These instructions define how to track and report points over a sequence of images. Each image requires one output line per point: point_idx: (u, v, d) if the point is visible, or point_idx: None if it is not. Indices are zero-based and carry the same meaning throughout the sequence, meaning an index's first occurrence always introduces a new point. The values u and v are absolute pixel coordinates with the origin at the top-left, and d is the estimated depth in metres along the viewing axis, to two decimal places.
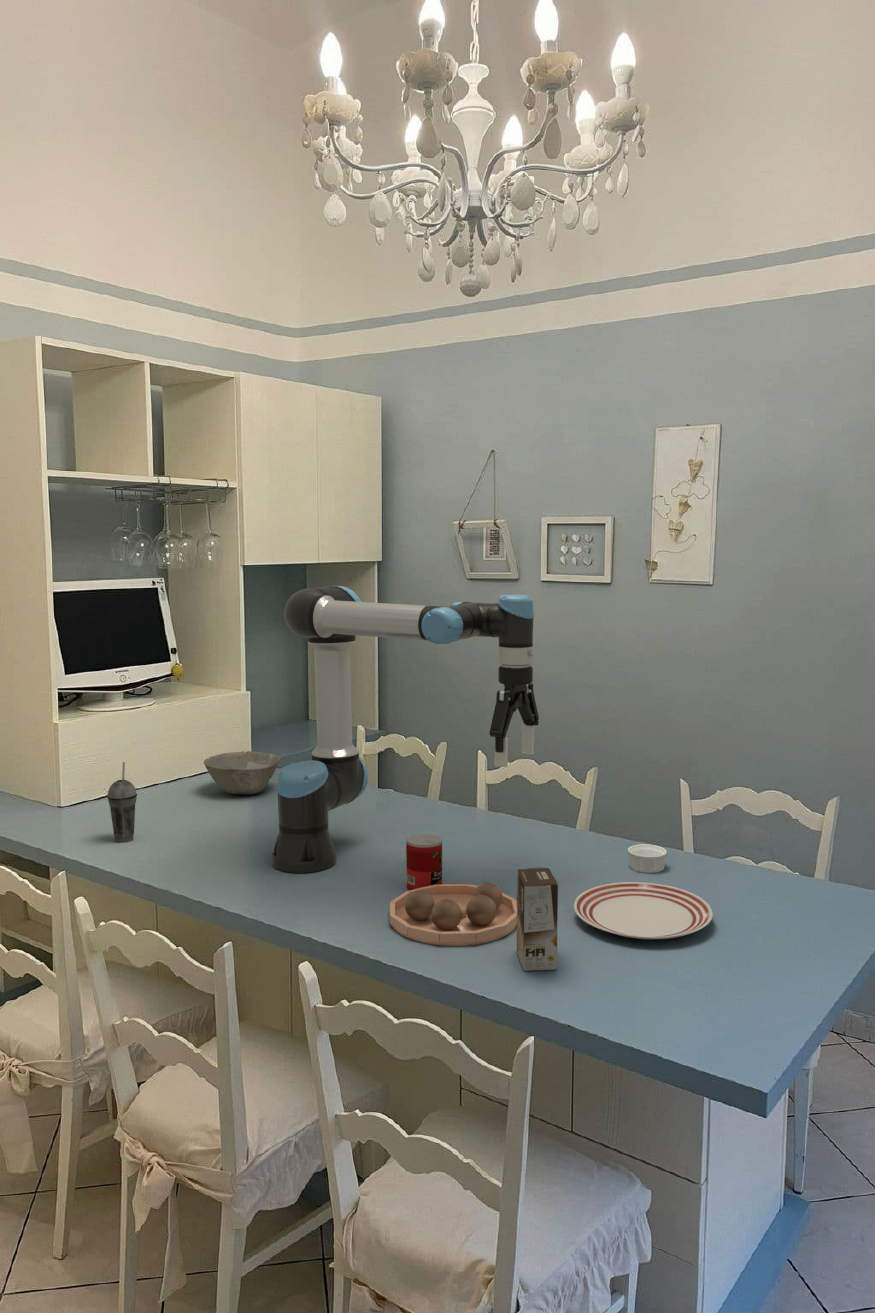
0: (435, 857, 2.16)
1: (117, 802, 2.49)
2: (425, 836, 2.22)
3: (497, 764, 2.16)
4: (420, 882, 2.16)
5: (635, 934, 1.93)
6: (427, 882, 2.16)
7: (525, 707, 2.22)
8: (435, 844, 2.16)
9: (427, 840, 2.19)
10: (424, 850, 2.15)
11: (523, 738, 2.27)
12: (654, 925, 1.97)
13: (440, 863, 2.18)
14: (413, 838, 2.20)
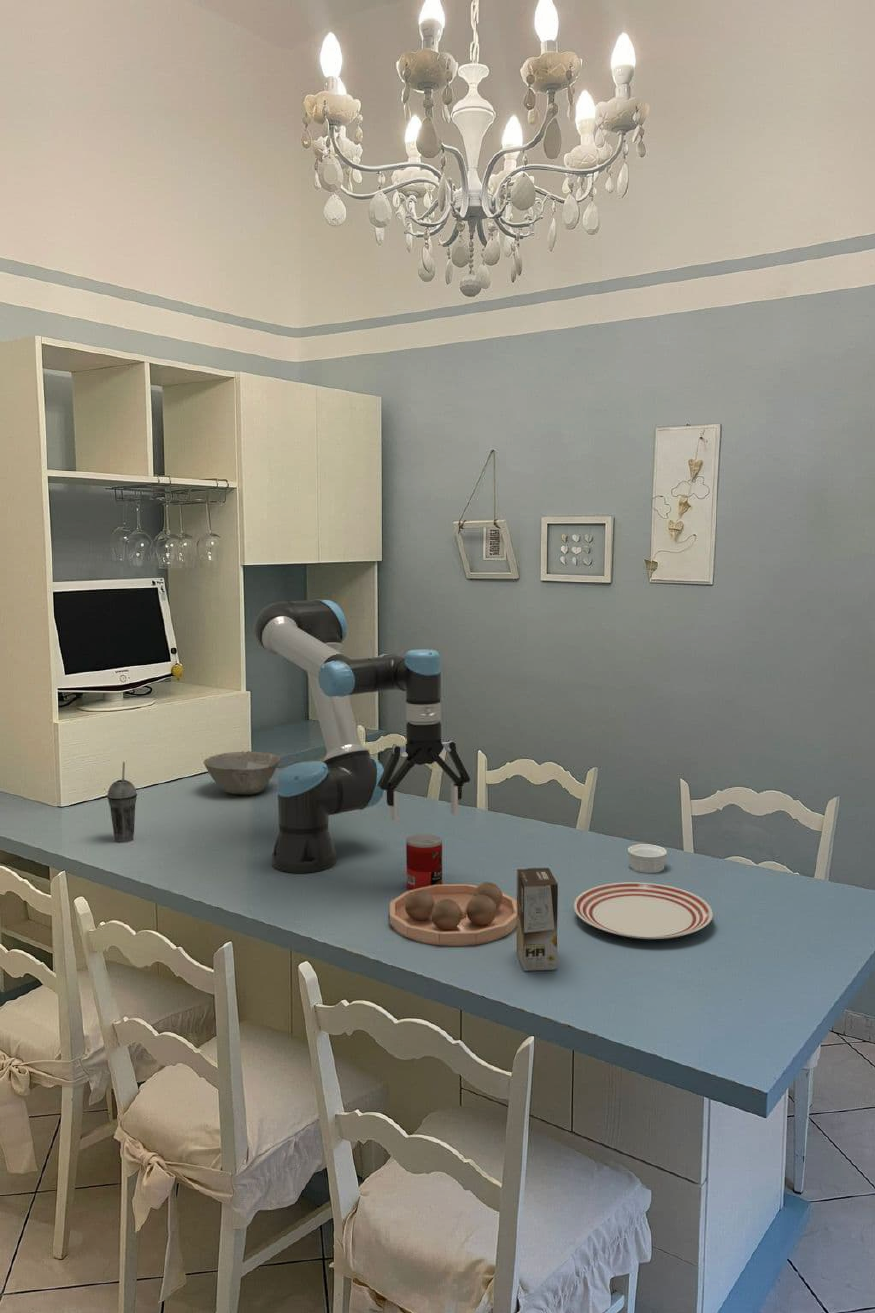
0: (435, 857, 2.16)
1: (117, 802, 2.49)
2: (425, 836, 2.22)
3: (392, 817, 2.16)
4: (420, 882, 2.16)
5: (635, 934, 1.93)
6: (427, 882, 2.16)
7: (440, 765, 2.17)
8: (435, 844, 2.16)
9: (427, 840, 2.19)
10: (424, 850, 2.15)
11: (451, 797, 2.20)
12: (654, 925, 1.97)
13: (440, 863, 2.18)
14: (413, 838, 2.20)
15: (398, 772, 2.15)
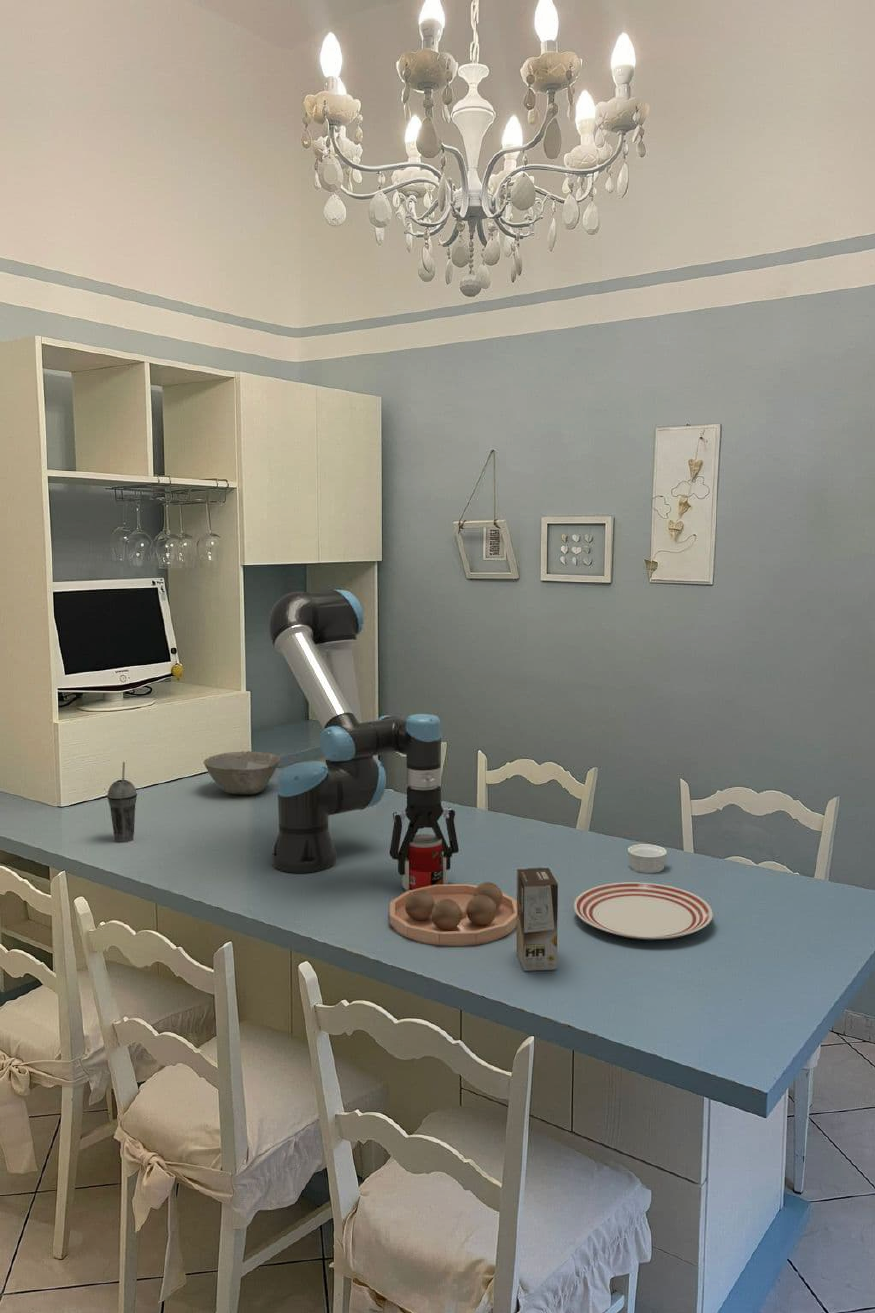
0: (435, 857, 2.16)
1: (117, 802, 2.49)
2: (425, 836, 2.22)
3: (403, 885, 2.19)
4: (420, 882, 2.16)
5: (635, 934, 1.93)
6: (427, 882, 2.16)
7: (435, 831, 2.18)
8: (435, 844, 2.16)
9: (427, 840, 2.19)
10: (424, 850, 2.15)
11: None
12: (654, 925, 1.97)
13: (440, 863, 2.18)
14: None
15: (405, 840, 2.18)
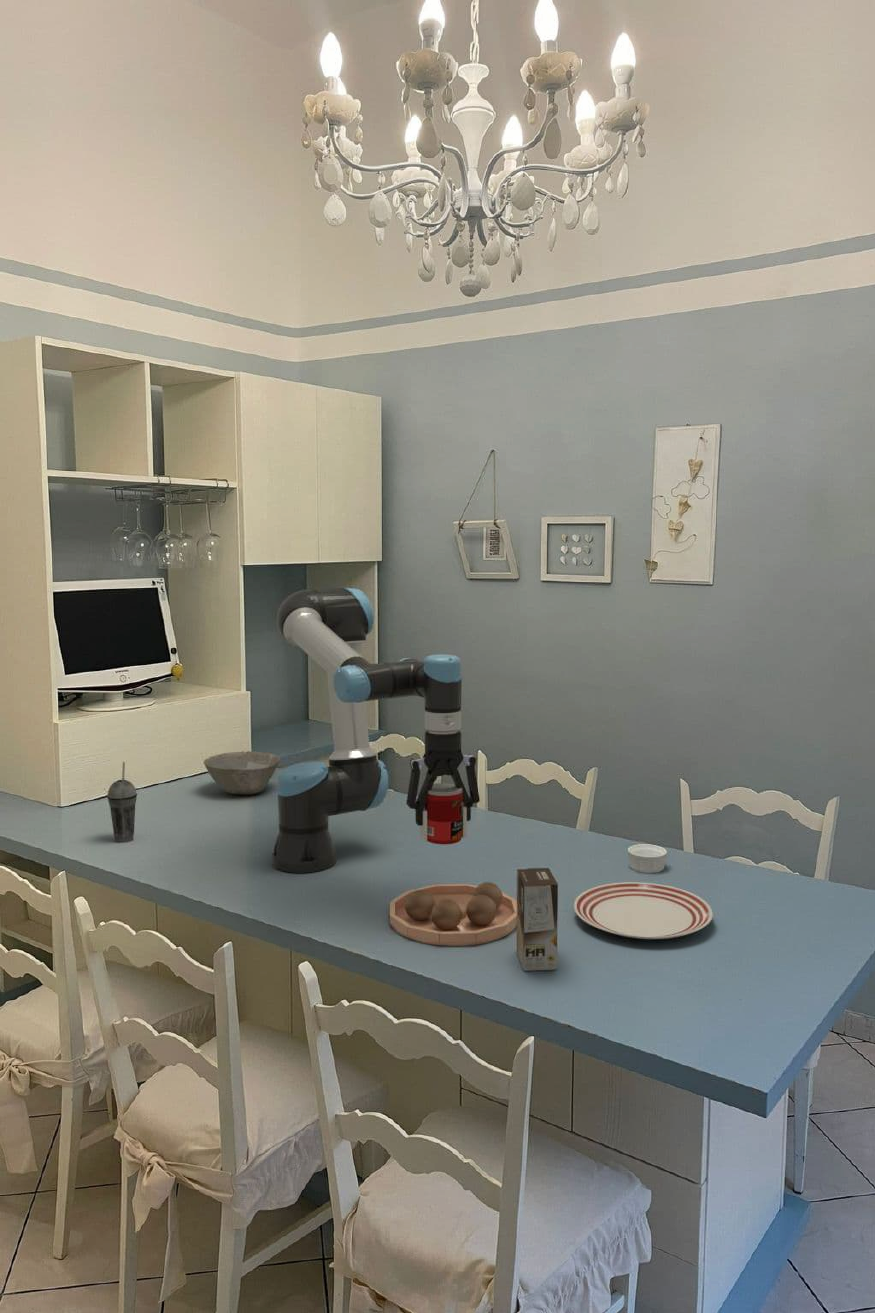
0: (455, 806, 2.03)
1: (117, 802, 2.49)
2: (444, 785, 2.09)
3: (421, 837, 2.06)
4: (439, 833, 2.03)
5: (635, 934, 1.93)
6: (447, 833, 2.03)
7: (455, 779, 2.05)
8: (455, 792, 2.03)
9: (446, 789, 2.06)
10: (444, 799, 2.02)
11: None
12: (654, 925, 1.97)
13: (460, 813, 2.05)
14: None
15: (423, 788, 2.05)
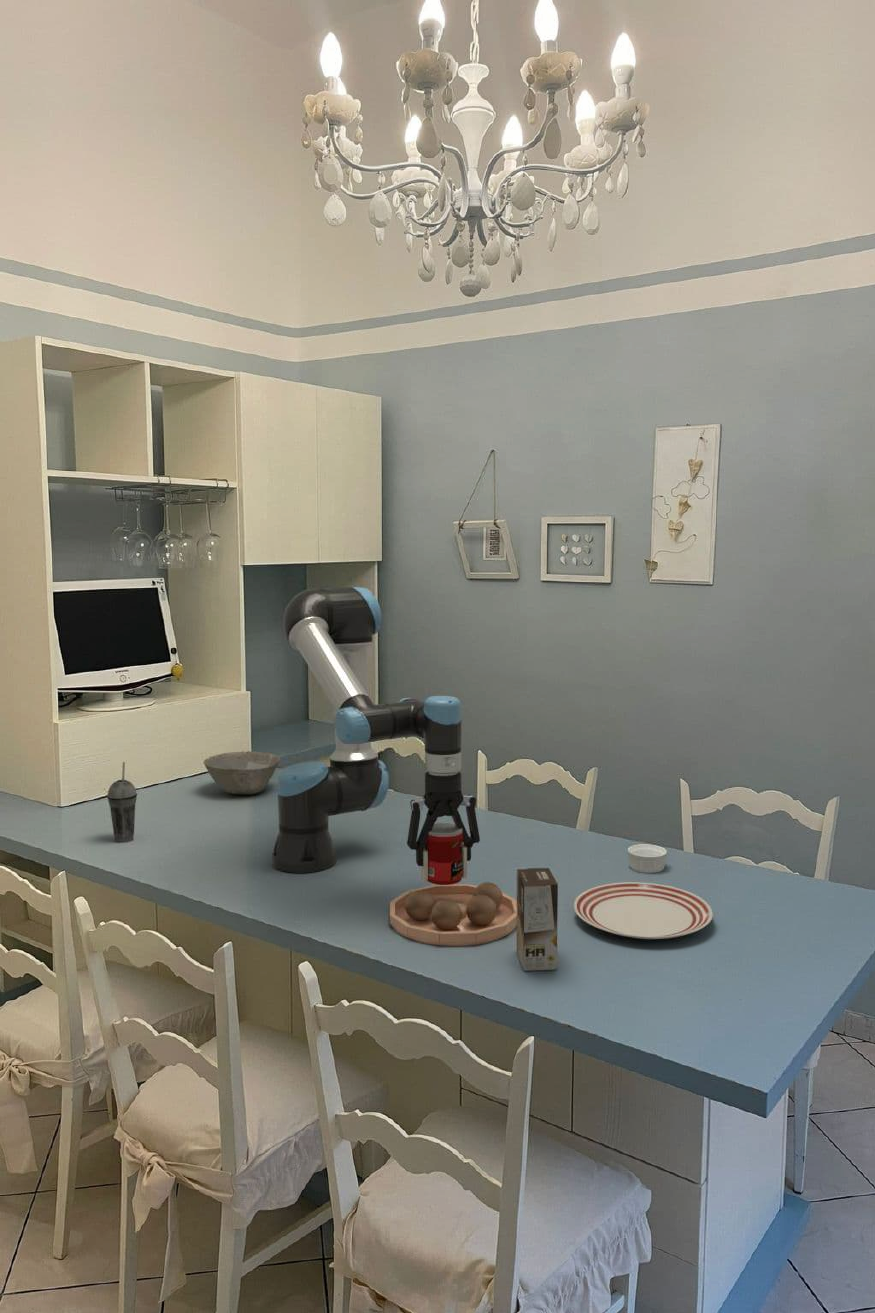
0: (455, 847, 2.04)
1: (117, 802, 2.49)
2: (444, 825, 2.10)
3: (421, 877, 2.07)
4: (440, 873, 2.04)
5: (635, 934, 1.93)
6: (447, 874, 2.04)
7: (455, 820, 2.06)
8: (455, 833, 2.04)
9: (447, 829, 2.07)
10: (444, 840, 2.03)
11: None
12: (654, 925, 1.97)
13: (461, 853, 2.06)
14: None
15: (423, 829, 2.06)
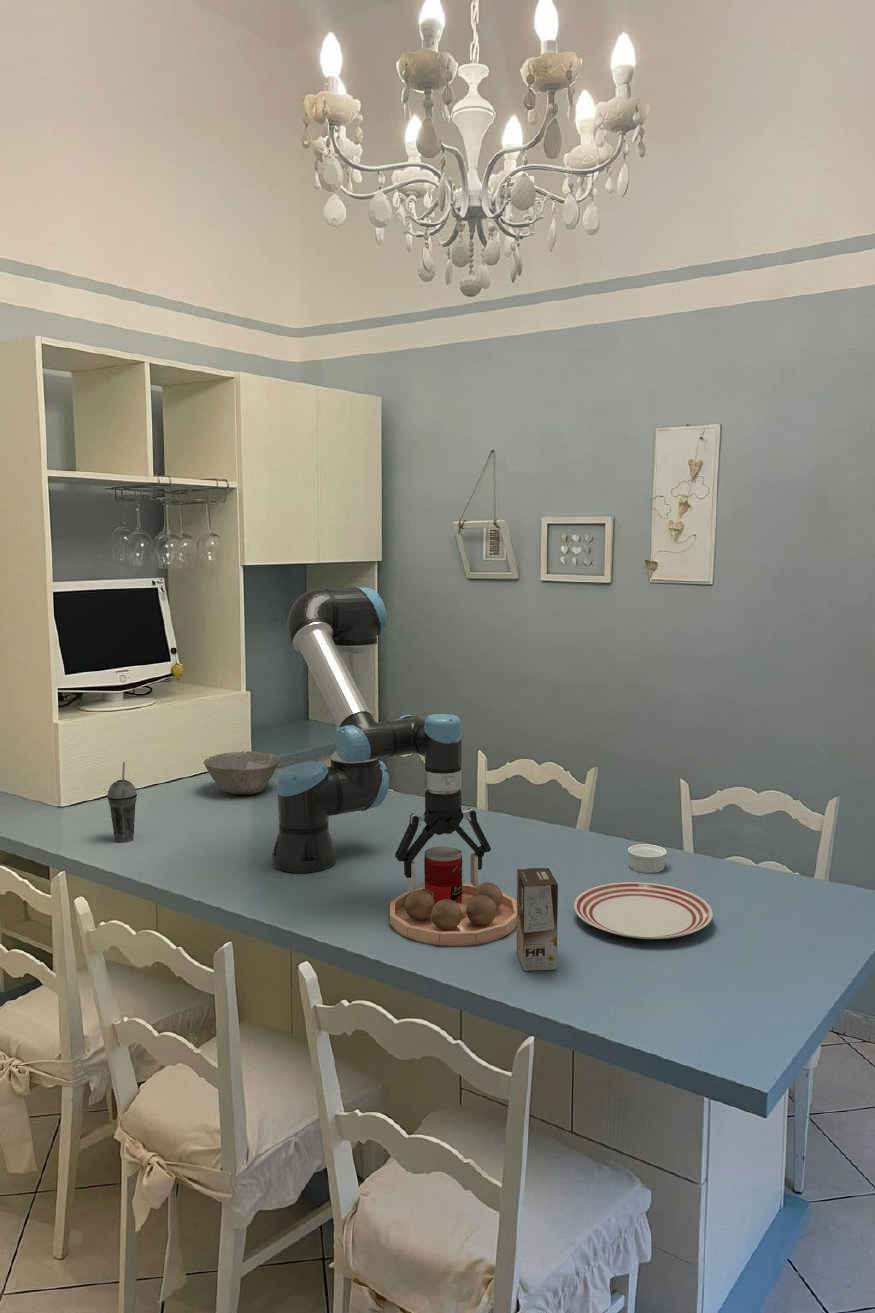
0: (455, 871, 2.05)
1: (117, 802, 2.49)
2: (444, 849, 2.10)
3: (409, 889, 2.07)
4: (439, 897, 2.05)
5: (635, 934, 1.93)
6: (446, 898, 2.05)
7: (460, 835, 2.07)
8: (455, 857, 2.05)
9: (446, 853, 2.08)
10: (444, 864, 2.04)
11: (471, 867, 2.11)
12: (654, 925, 1.97)
13: (460, 877, 2.07)
14: (431, 851, 2.09)
15: (416, 842, 2.06)
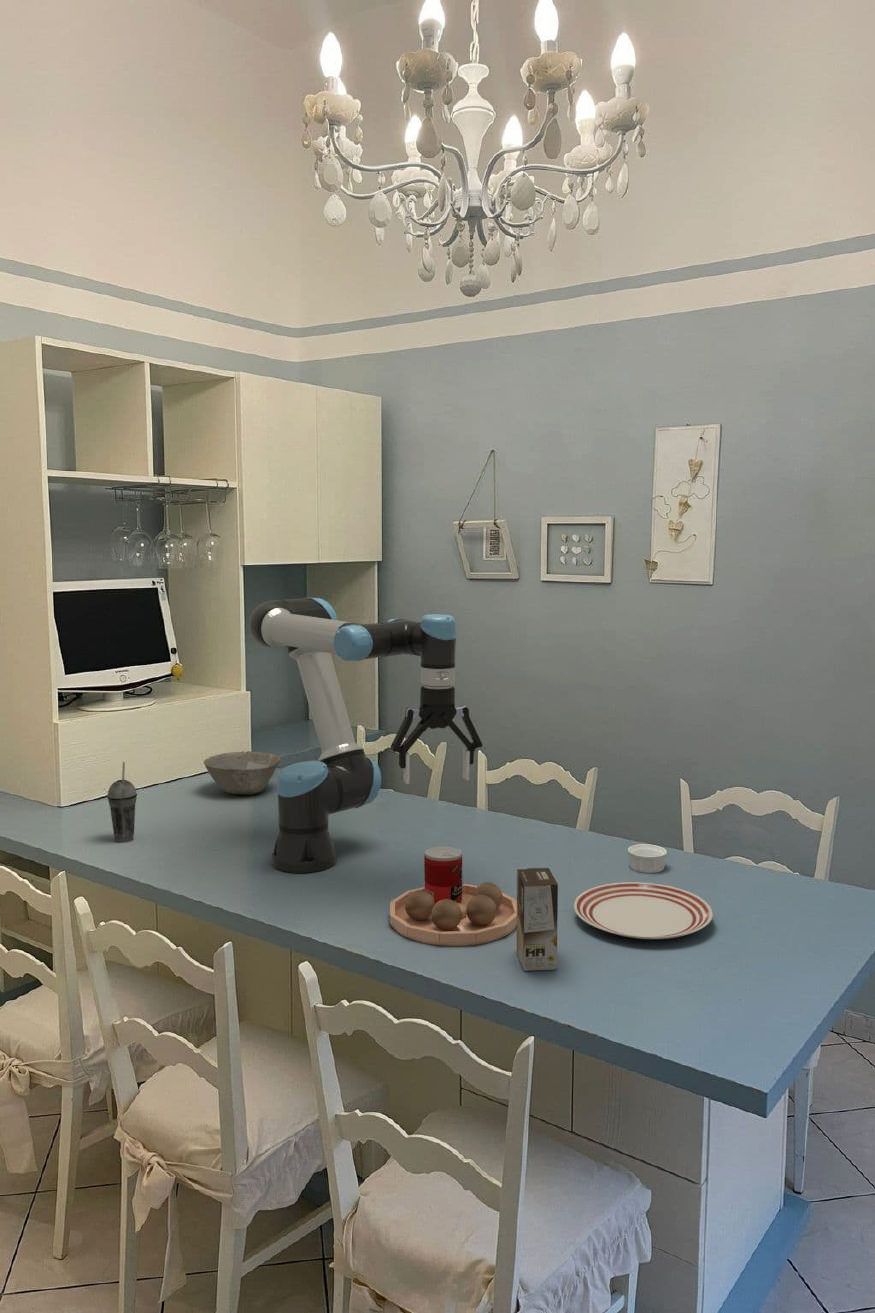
0: (455, 871, 2.05)
1: (117, 802, 2.49)
2: (444, 849, 2.10)
3: (404, 779, 2.19)
4: (439, 897, 2.05)
5: (635, 934, 1.93)
6: (447, 898, 2.05)
7: (453, 730, 2.18)
8: (455, 857, 2.05)
9: (446, 853, 2.08)
10: (444, 864, 2.04)
11: (463, 762, 2.22)
12: (654, 925, 1.97)
13: (460, 877, 2.07)
14: (431, 851, 2.09)
15: (411, 735, 2.17)
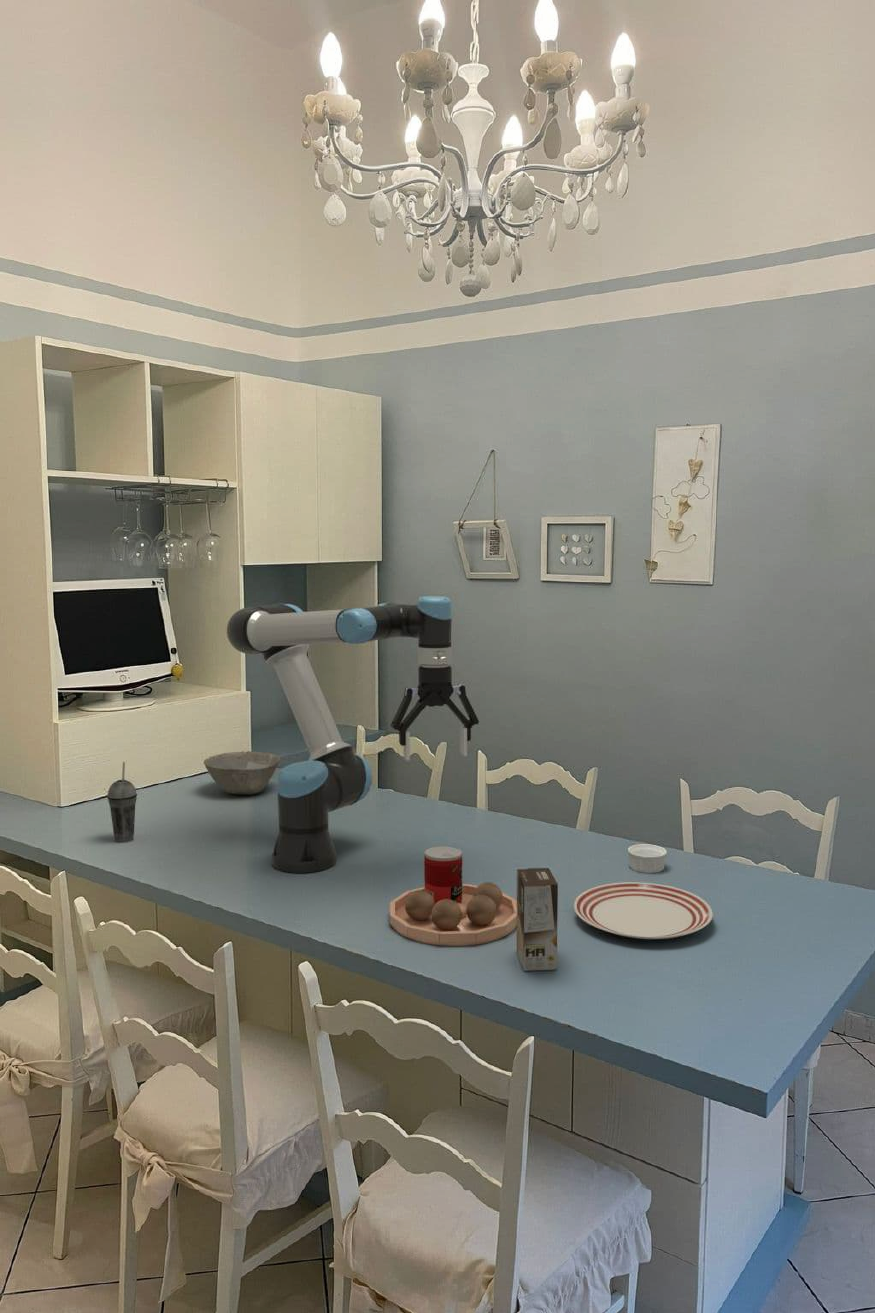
0: (455, 871, 2.05)
1: (117, 802, 2.49)
2: (444, 849, 2.10)
3: (404, 756, 2.26)
4: (439, 897, 2.05)
5: (635, 934, 1.93)
6: (446, 898, 2.05)
7: (450, 708, 2.26)
8: (455, 857, 2.05)
9: (446, 853, 2.08)
10: (444, 864, 2.04)
11: (460, 739, 2.30)
12: (654, 925, 1.97)
13: (460, 877, 2.07)
14: (431, 851, 2.09)
15: (410, 713, 2.25)
